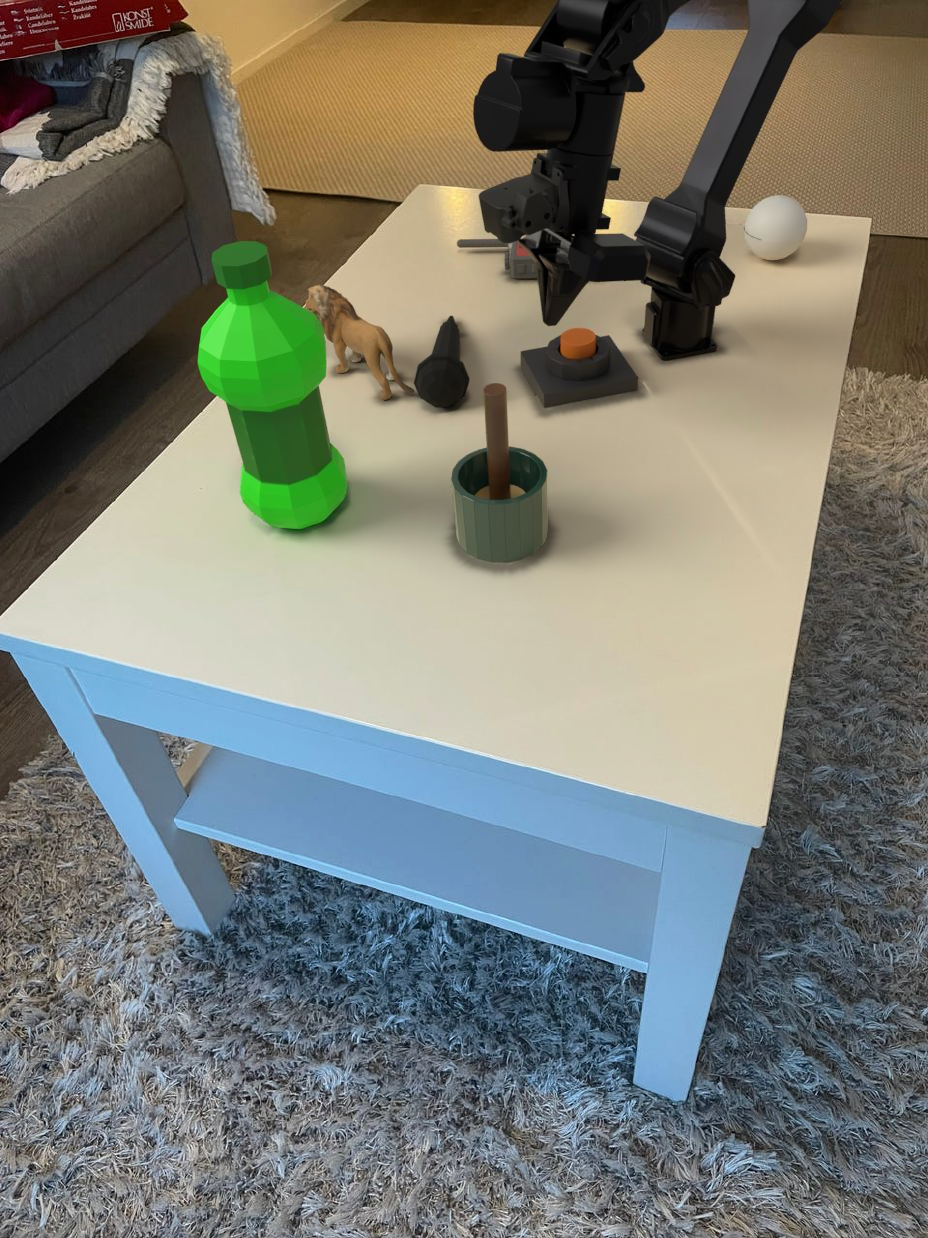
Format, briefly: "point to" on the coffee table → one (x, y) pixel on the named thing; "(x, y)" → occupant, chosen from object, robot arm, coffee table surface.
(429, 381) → the microphone
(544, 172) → the robot arm
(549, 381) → the button unit
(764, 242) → the white ball
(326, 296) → the lion figurine
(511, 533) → the green pen cup
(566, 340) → the button
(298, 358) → the plastic bottle
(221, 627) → the coffee table surface
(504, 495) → the brown wooden dowel
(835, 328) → the coffee table surface
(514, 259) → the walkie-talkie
